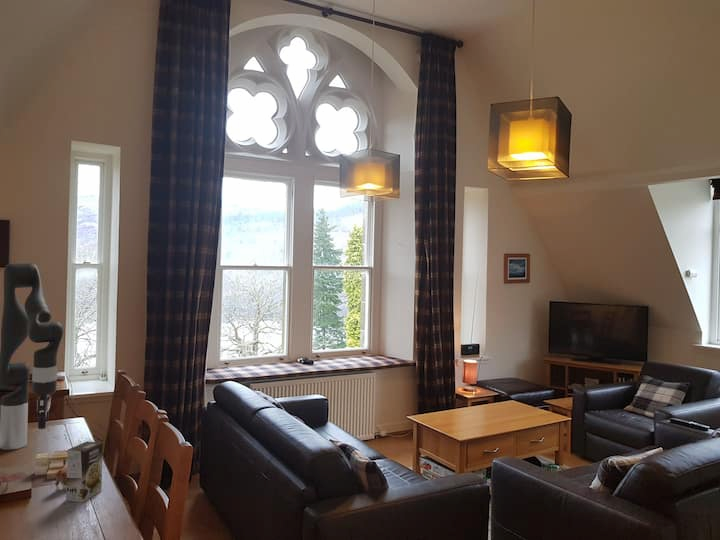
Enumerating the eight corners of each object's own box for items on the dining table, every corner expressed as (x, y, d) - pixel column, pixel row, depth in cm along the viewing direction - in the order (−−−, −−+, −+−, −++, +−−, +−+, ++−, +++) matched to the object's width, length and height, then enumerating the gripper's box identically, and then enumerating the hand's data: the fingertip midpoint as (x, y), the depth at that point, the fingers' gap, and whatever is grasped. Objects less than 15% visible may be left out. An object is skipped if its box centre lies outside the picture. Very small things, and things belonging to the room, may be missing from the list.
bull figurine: (93, 479, 189) (94, 455, 189) (60, 494, 176) (61, 468, 176) (83, 477, 190) (84, 453, 190) (50, 491, 177) (50, 466, 177)
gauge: (36, 471, 194) (37, 454, 194) (67, 467, 198) (68, 451, 198) (35, 475, 190) (35, 458, 190) (67, 471, 194) (67, 454, 194)
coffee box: (83, 503, 170) (84, 451, 170) (64, 500, 171) (66, 449, 171) (102, 491, 179) (103, 442, 179) (85, 489, 180) (86, 440, 180)
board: (53, 456, 209) (53, 451, 209) (70, 455, 211) (70, 449, 211) (46, 479, 187) (46, 473, 187) (64, 477, 189) (65, 471, 189)
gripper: (34, 375, 197) (33, 420, 197) (29, 384, 184) (28, 432, 184) (58, 374, 200) (57, 418, 201) (54, 382, 187) (53, 430, 188)
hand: (43, 424), depth 192 cm, fingers open, 8 cm apart
